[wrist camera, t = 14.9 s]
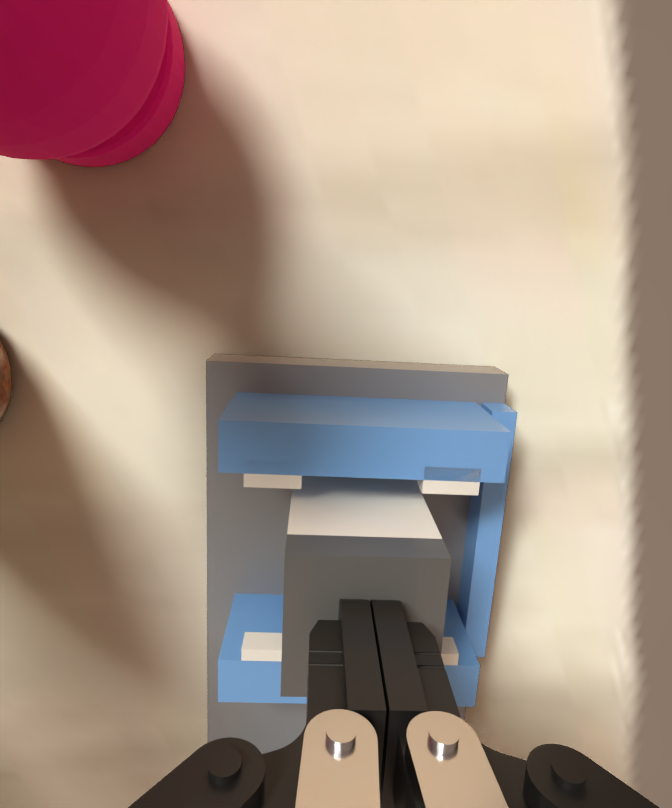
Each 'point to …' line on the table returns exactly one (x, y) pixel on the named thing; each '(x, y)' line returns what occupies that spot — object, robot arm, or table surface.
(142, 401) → the table surface
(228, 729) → the grey fixture board
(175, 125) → the table surface
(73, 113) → the pepper mill
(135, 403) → the table surface
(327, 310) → the table surface
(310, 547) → the grey block
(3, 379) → the sauce bottle
